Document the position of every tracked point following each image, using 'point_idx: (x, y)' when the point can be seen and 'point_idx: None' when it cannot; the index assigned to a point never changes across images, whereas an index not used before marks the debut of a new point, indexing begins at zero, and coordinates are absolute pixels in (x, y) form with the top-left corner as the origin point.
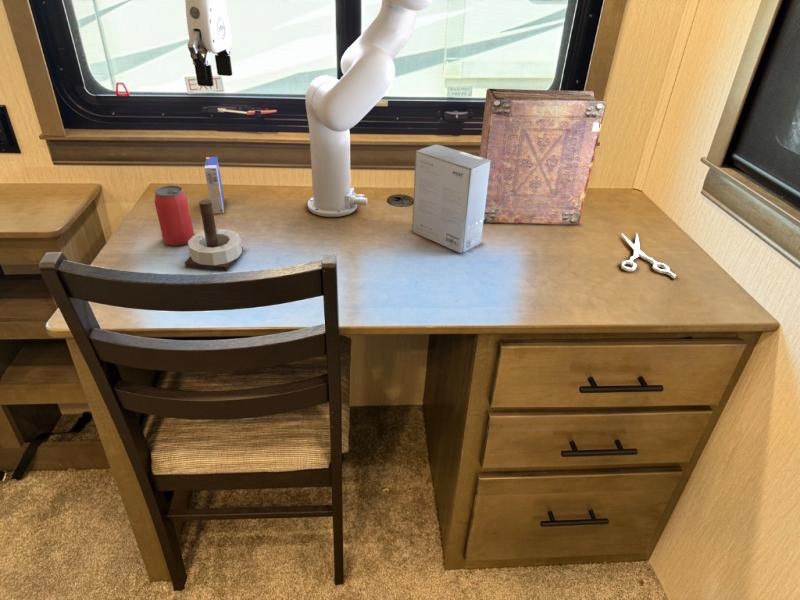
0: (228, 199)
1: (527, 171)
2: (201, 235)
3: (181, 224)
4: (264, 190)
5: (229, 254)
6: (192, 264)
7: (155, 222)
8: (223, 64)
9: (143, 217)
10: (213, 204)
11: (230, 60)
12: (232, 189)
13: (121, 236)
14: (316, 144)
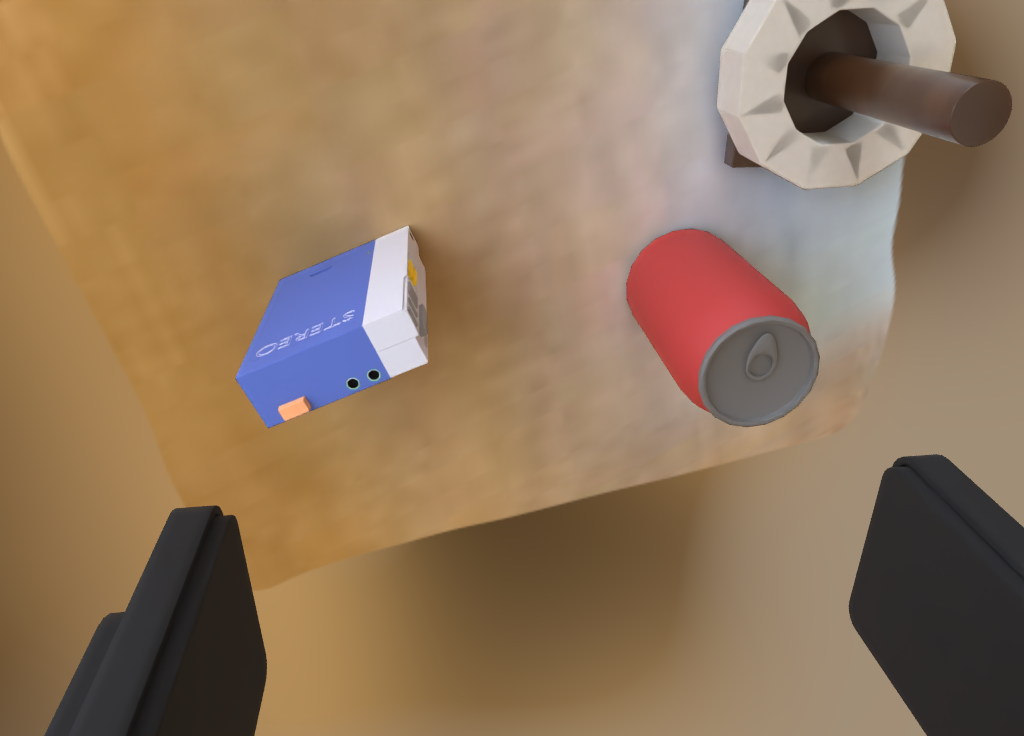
0: (261, 266)
1: None
2: (802, 156)
3: (753, 267)
4: (80, 137)
5: None
6: None
7: (551, 427)
8: (214, 719)
9: (521, 482)
10: (420, 274)
11: (92, 695)
12: (144, 297)
13: (670, 469)
14: None
